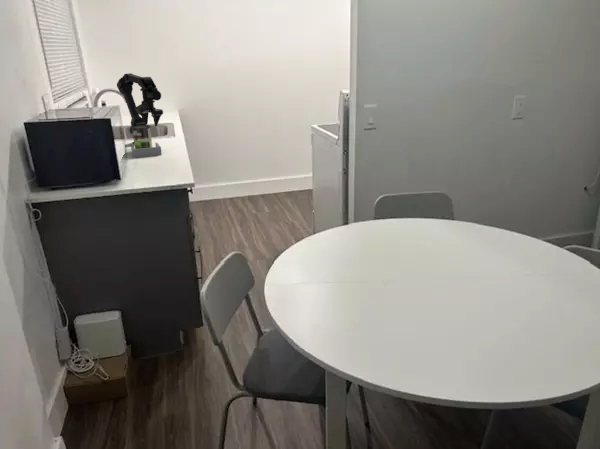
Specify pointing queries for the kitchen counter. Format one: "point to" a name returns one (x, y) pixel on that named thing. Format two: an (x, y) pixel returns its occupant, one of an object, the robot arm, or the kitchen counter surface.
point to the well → (146, 151)
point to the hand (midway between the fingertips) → (151, 125)
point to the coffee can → (142, 136)
